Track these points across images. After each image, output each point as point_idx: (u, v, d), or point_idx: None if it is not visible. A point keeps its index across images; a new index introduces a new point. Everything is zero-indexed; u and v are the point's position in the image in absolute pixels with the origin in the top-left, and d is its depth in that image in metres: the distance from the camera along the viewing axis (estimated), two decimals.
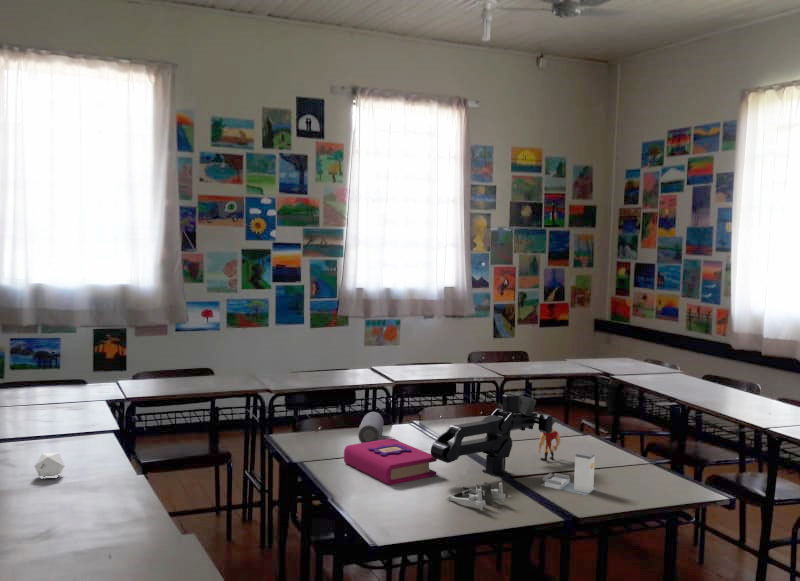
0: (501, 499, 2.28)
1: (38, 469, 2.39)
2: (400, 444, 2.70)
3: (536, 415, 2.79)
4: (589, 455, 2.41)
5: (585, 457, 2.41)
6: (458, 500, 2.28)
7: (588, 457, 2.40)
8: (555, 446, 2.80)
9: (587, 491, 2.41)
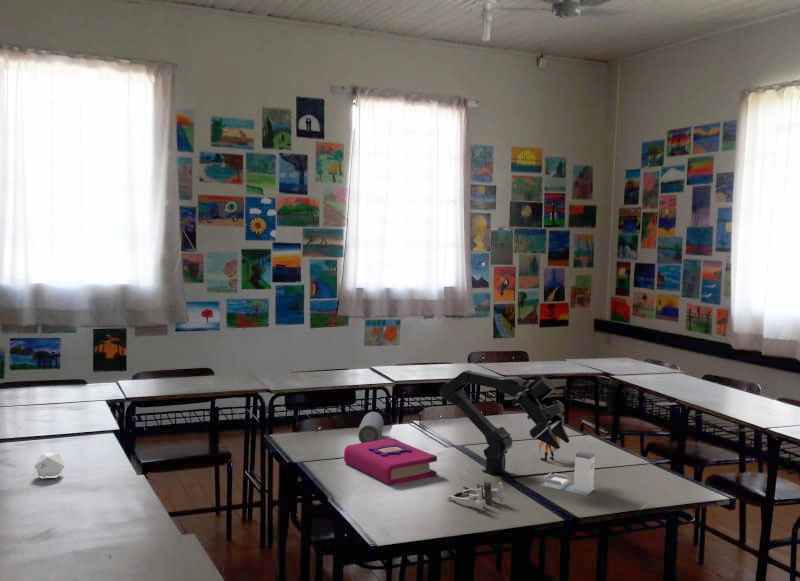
0: (501, 499, 2.28)
1: (38, 469, 2.39)
2: (400, 444, 2.70)
3: (566, 441, 2.52)
4: (589, 455, 2.41)
5: (585, 457, 2.41)
6: (458, 500, 2.28)
7: (588, 457, 2.40)
8: None
9: (587, 491, 2.41)
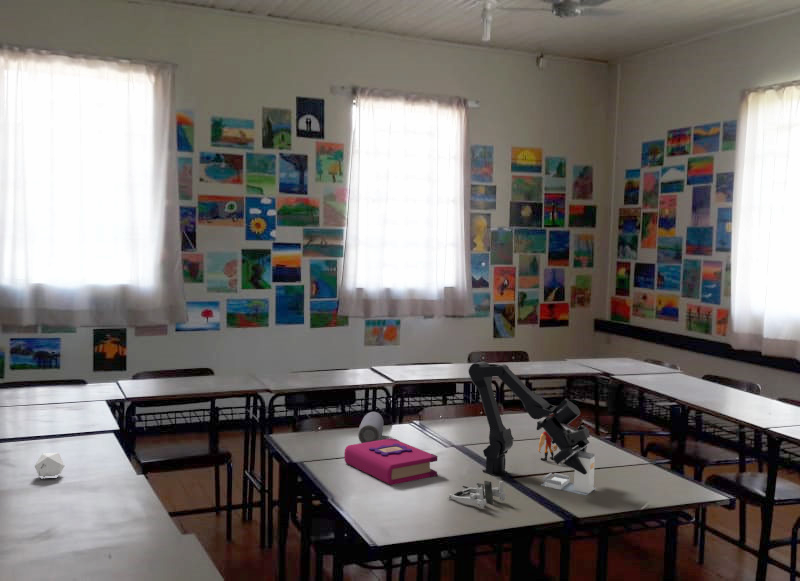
0: (502, 497, 2.29)
1: (38, 469, 2.39)
2: (401, 444, 2.70)
3: None
4: (589, 455, 2.41)
5: (585, 457, 2.41)
6: (459, 499, 2.29)
7: (588, 457, 2.40)
8: (555, 446, 2.80)
9: (587, 491, 2.41)
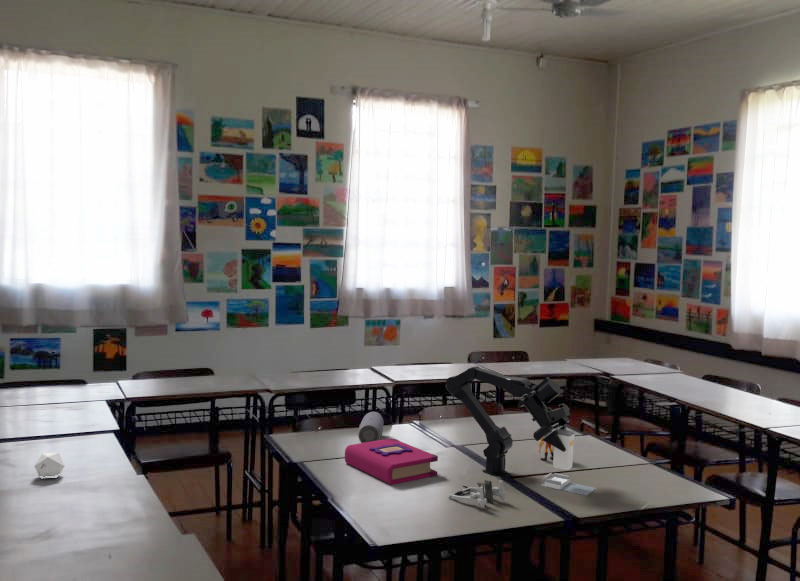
0: (502, 497, 2.30)
1: (38, 469, 2.39)
2: (401, 444, 2.70)
3: None
4: (569, 433, 2.45)
5: (565, 434, 2.44)
6: (459, 498, 2.30)
7: (567, 434, 2.44)
8: None
9: (566, 468, 2.44)
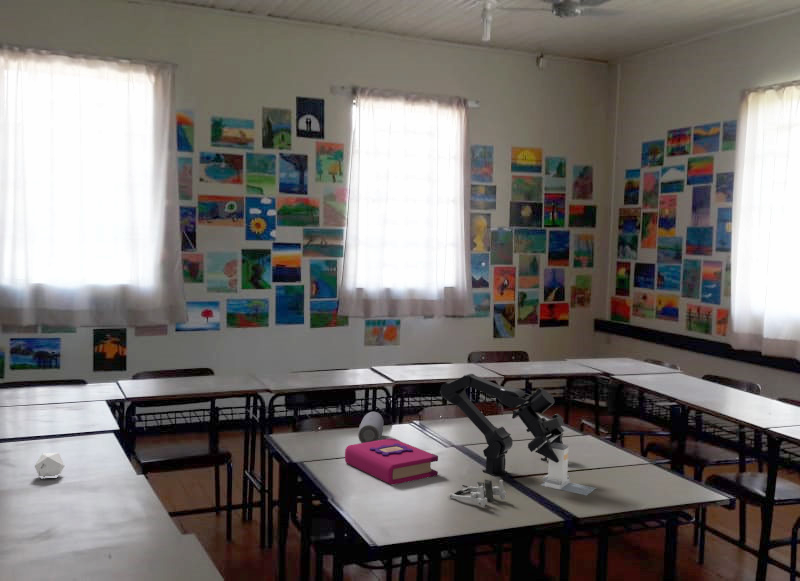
0: (502, 496, 2.31)
1: (38, 469, 2.39)
2: (401, 444, 2.70)
3: None
4: (563, 446, 2.46)
5: (559, 448, 2.46)
6: (460, 498, 2.30)
7: (561, 448, 2.45)
8: None
9: (561, 481, 2.46)
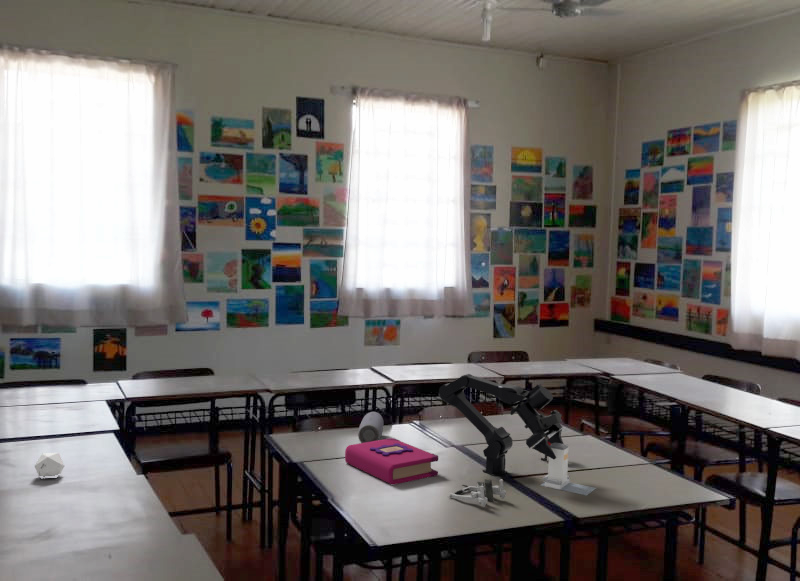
0: (502, 495, 2.31)
1: (38, 469, 2.39)
2: (401, 444, 2.70)
3: None
4: (563, 446, 2.46)
5: (559, 448, 2.46)
6: (460, 497, 2.31)
7: (561, 448, 2.45)
8: None
9: (561, 481, 2.46)
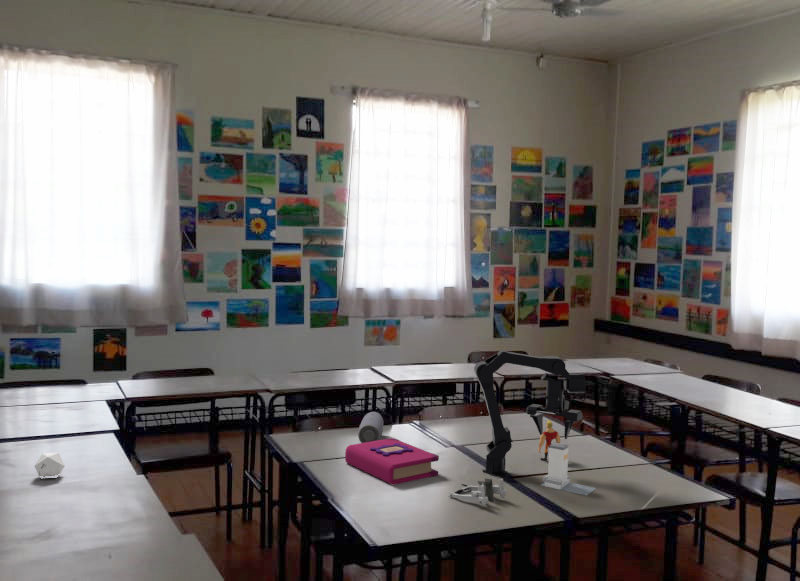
0: (502, 495, 2.32)
1: (38, 469, 2.39)
2: (401, 444, 2.70)
3: (541, 433, 2.63)
4: (563, 446, 2.46)
5: (559, 448, 2.46)
6: (460, 497, 2.31)
7: (561, 448, 2.45)
8: None
9: (561, 481, 2.46)
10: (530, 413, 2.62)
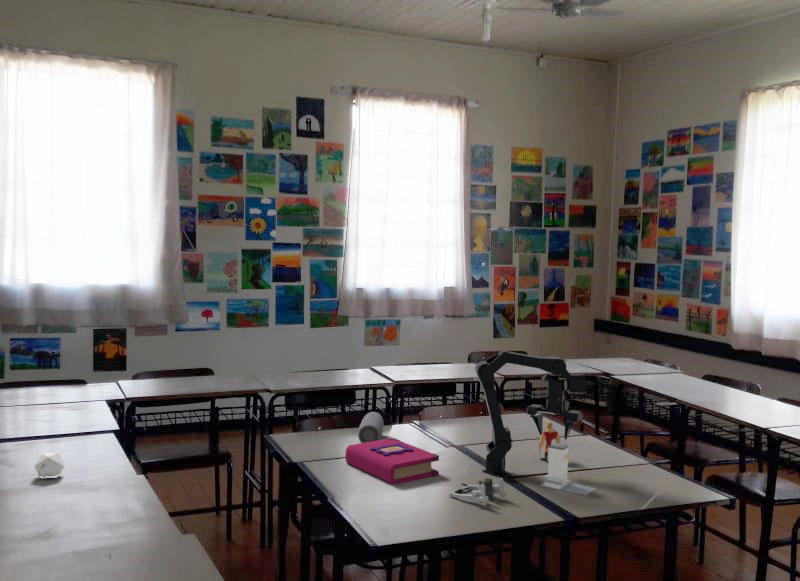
0: (502, 494, 2.32)
1: (38, 469, 2.39)
2: (401, 444, 2.71)
3: (541, 433, 2.63)
4: (563, 446, 2.46)
5: (559, 448, 2.46)
6: (460, 496, 2.32)
7: (561, 448, 2.45)
8: None
9: (561, 481, 2.46)
10: (530, 413, 2.62)
